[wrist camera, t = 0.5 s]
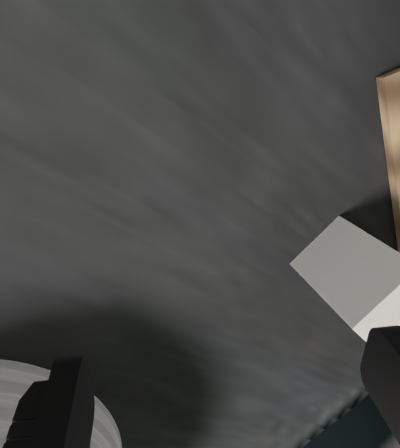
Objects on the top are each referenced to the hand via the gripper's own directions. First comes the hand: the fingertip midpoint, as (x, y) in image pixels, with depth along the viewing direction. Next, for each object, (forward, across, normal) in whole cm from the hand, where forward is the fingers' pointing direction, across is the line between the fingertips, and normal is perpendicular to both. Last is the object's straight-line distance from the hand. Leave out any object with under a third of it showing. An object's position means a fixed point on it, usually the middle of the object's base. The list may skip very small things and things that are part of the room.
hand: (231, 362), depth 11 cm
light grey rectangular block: (+22, -15, +12) cm, 29 cm away
